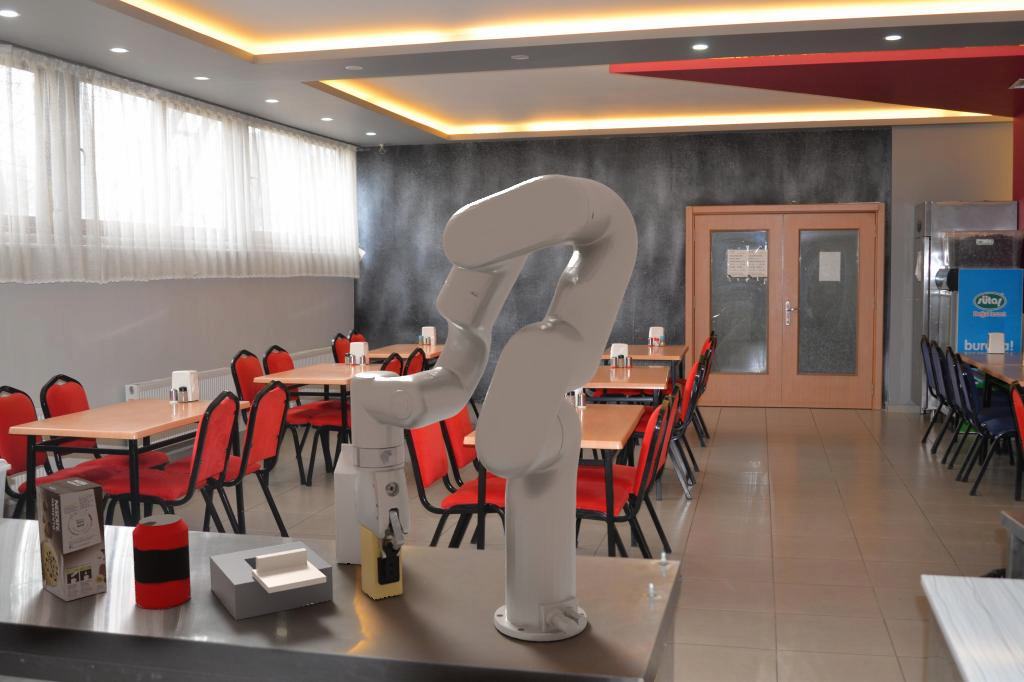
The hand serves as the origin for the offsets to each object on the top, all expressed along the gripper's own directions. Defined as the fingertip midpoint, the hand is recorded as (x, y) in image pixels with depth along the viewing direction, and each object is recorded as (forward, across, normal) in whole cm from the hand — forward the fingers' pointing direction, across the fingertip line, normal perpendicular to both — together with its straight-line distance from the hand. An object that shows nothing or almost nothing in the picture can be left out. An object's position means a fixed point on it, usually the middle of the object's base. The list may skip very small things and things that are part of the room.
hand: (381, 576), depth 139 cm
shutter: (-3, -1, +14) cm, 14 cm away
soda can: (+3, +14, +28) cm, 32 cm away
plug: (+2, 0, 0) cm, 2 cm away
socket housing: (+2, +8, +14) cm, 17 cm away
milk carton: (+3, +16, -4) cm, 17 cm away
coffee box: (+2, +26, +39) cm, 47 cm away
